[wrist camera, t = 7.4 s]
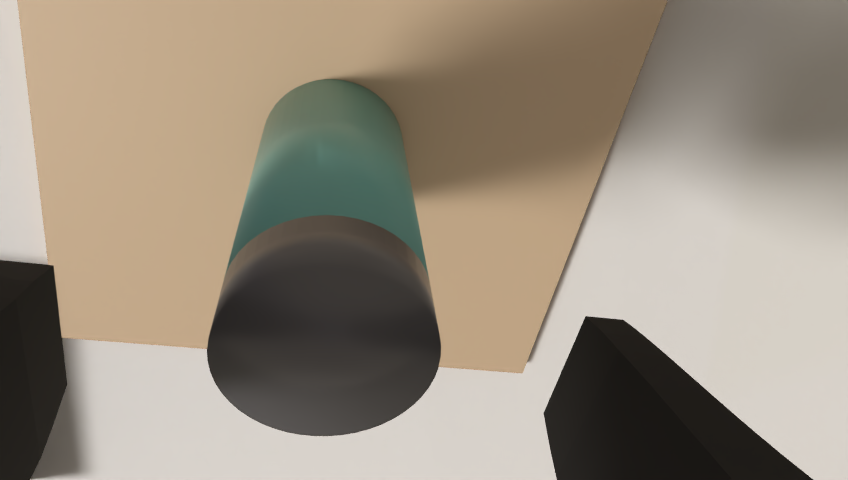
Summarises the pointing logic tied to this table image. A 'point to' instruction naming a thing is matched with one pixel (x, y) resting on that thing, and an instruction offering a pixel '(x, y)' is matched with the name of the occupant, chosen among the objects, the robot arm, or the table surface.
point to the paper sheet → (244, 123)
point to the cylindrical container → (326, 272)
